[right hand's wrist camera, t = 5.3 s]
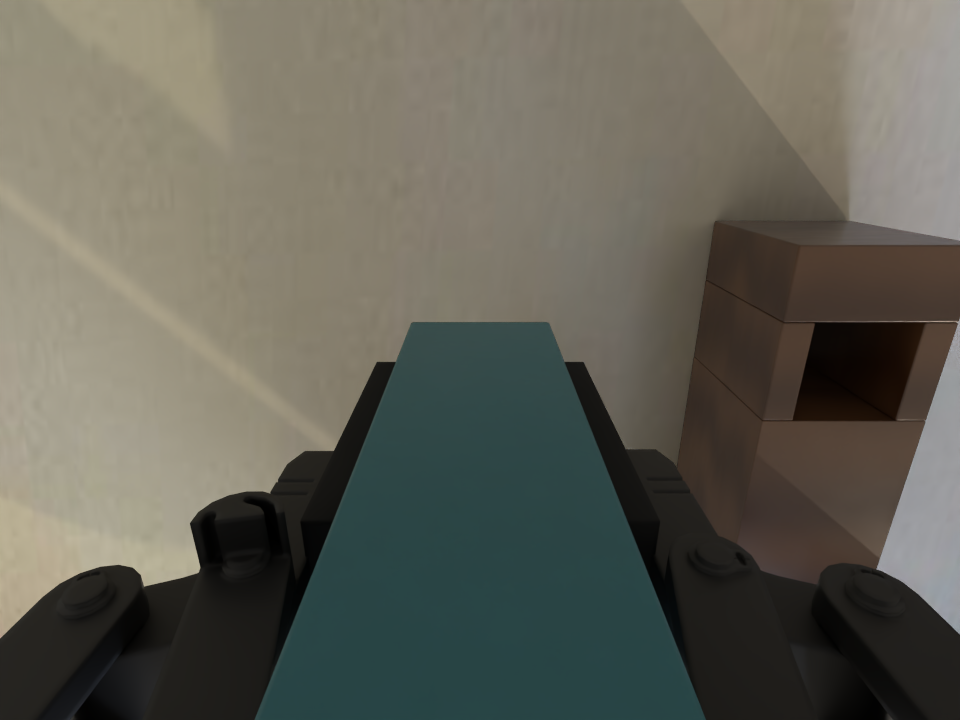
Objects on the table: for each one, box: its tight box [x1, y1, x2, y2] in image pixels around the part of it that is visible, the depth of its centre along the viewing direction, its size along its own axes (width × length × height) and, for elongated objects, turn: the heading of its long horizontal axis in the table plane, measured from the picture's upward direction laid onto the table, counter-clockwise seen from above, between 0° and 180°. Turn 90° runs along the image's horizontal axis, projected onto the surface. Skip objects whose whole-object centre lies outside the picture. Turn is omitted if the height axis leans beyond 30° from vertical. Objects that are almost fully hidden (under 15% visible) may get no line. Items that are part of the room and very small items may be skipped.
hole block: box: [677, 221, 960, 585], centre depth 32 cm, size 28×8×9 cm, turn 0°
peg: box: [255, 322, 706, 720], centre depth 10 cm, size 4×4×14 cm
